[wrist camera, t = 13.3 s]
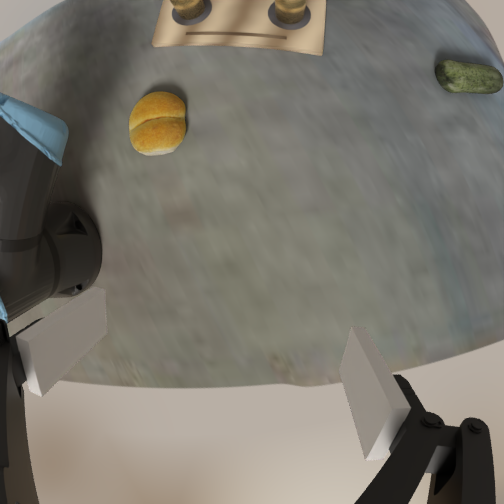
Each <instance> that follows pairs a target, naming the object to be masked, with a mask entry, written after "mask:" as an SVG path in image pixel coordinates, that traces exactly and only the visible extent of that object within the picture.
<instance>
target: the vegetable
mask: <svg viewBox="0 0 504 504" xmlns="http://www.w3.org/2000/svg"><path fill="white" fill-rule="evenodd" d="M436 77H437V80H438V82H439V83H440V85H441V86H442V87H443V88H444V89H445V90H447V91H448V92H450V93H461V92H466V93H480V94H492V93H496V92H498V91H499V90H501V88H502V87H503V77H502V75H501V73H500V72H499V70H497V69H496V68H494V67H492V66H488V65H481V64H473V63H464V62H457V61H452V60H443V61H441V62H440V63H438V65H437V67H436Z"/></svg>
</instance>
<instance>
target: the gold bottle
mask: <svg viewBox="0 0 504 504" xmlns="http://www.w3.org/2000/svg"><path fill="white" fill-rule="evenodd" d="M170 2H171V3H172V5H173V6H174V8H175V10H176V11H177V13H178V15H179V16H180V17H181V18H182V19H185V20H192V19H195V18H197V17H199V16H200V15H202V14H203V12H204V10H205V5H204V2H203V0H170Z"/></svg>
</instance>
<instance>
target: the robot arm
mask: <svg viewBox="0 0 504 504" xmlns="http://www.w3.org/2000/svg"><path fill="white" fill-rule="evenodd" d="M68 135H69V131H68V127H67V125H66V123H65V122H64V121H63V120H61V119H60V118H58V117H56V116H53V115H51V114H49V113H47V112H45V111H42V110H40V109H38V108H36V107H34V106H31V105H29V104H27V103H24V102H22V101H20V100H17V99H15V98H12V97H10V96H7V95H5V94H3V93H0V504H39V501H38V496H37V492H36V488H35V483H34V479H33V473H32V467H31V461H30V454H29V448H28V440H27V431H26V421H25V407H24V390H23V387H22V384H23V383H24V382H25V381H26V380H27V383H28V387H29V390H30V391H31V392H33V393H35V394H37V395H39V396H41V397H43V396H44V395H45V394H46V393H47V392H48V391H49V390H50V389H51V388H52V386H54V384H56V383H57V382H58V381H59V380H60V379H61V378H62V377H63V376H64V375H65V374H66V373H67V372H68V371H69V370H70V369H71V368H72V367H73V366H74V365H75V364H76V363H77V362H78V361H79V360H80V359H81V358H82V357H83V356H84V355H85V354H86V353H88V352H89V351H90V350H91V349H92V348H93V347H94V346H95V345H96V344H97V343H98V342H99V341H100V340H101V339H102V338H103V337H104V336H105V335H106V334H107V319H106V300H105V289H103V288H98V287H92V288H91V289H89V290H87V291H86V292H84V293H82V294H81V295H79V296H78V297H76V298H74V299H73V300H71V301H70V302H68V303H66V304H65V305H63V306H62V307H60V308H58V309H57V310H55V311H54V312H52V313H51V314H49V315H47V316H46V317H44V318H41V319H38V320H36V321H34V322H32V323H31V324H30V325H28V326H26V327H25V329H24V328H23V329H22V330H20V331H19V332H17V333H16V334H14V335H12V336H11V337H9V333H8V328H7V323H9V322H10V321H12V320H13V319H15V318H17V317H18V316H20V315H21V314H23V313H25V312H26V311H28V310H29V309H31V308H33V307H34V306H36V305H38V304H39V303H41V302H43V301H44V300H46V299H48V298H62V297H72V296H76V295H78V294H80V293H81V292H83V291H85V290H86V289H88V288H89V287H90V286H91V285H92V284H93V283H94V281H95V280H96V278H97V276H98V274H99V271H100V267H101V260H102V250H101V243H100V238H99V235H98V232H97V229H96V227H95V225H94V223H93V221H92V220H91V218H90V217H89V216H88V214H87V213H86V212H85V211H84V210H82V209H81V208H80V207H78V206H77V205H75V204H72V203H69V202H56V203H51V204H49V203H50V199H51V195H52V192H53V188H54V185H55V181H56V178H57V175H58V171H59V168H60V166H62V157H63V153H64V150H65V146H66V143H67V140H68ZM339 373H340V377H341V380H342V383H343V386H344V389H345V393H346V396H347V399H348V402H349V406H350V409H351V412H352V416H353V419H354V422H355V426H356V429H357V433H358V436H359V440H360V443H361V446H362V450H363V454H364V457H365V460H366V461H367V460H382V459H384V457H385V455H386V454H387V452H388V450H390V453H391V455H390V457H389V458H388V460H387V461H386V462H385V464H384V465H383V467H382V468H381V470H380V471H379V473H378V474H377V475H376V477H375V478H374V479H373V480H372V482H371V483H370V484H369V486H368V487H367V488H366V490H365V491H364V492H363V493H362V495H361V496H360V497H359V499H358V500H357V501H356V502H355V503H354V504H408V503H409V501H410V499H411V498H412V496H413V494H414V492H415V490H416V488H417V487H418V485H419V483H420V481H421V479H422V477H423V475H424V473H432V475H431V482H430V488H429V495H428V500H427V504H496V496H495V478H494V465H493V455H492V447H491V440H490V434H489V429H488V426H487V425H486V424H485V423H484V422H483V421H481V420H480V419H477V418H466V419H465V420H463V422H462V423H461V425H460V427H455V426H447V425H445V424H444V422H443V420H442V419H441V418H440V417H439V416H438V415H436V414H434V413H431V412H426V410H425V409H424V407H423V405H422V404H421V402H420V400H419V399H418V397H417V395H415V392H414V390H413V389H412V387H411V385H410V384H409V382H408V381H407V380H406V379H405V378H404V377H402V376H401V375H392V373H391V371H390V369H389V368H388V366H387V364H386V362H385V361H384V359H383V357H382V355H381V354H380V352H379V350H378V349H377V347H376V345H375V344H374V342H373V340H372V338H371V337H370V335H369V333H368V332H367V330H366V328H364V327H352V326H351V330H350V333H349V337H348V341H347V344H346V348H345V351H344V355H343V358H342V362H341V365H340V369H339Z"/></svg>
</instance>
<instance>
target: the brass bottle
mask: <svg viewBox="0 0 504 504" xmlns="http://www.w3.org/2000/svg"><path fill="white" fill-rule="evenodd" d="M305 6H306V0H275V16H276V18H277V19H278V20H279V21H280V22H282V23H285V24H296V23H299V22H300V21H302V19H303V17H304V12H305Z"/></svg>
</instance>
